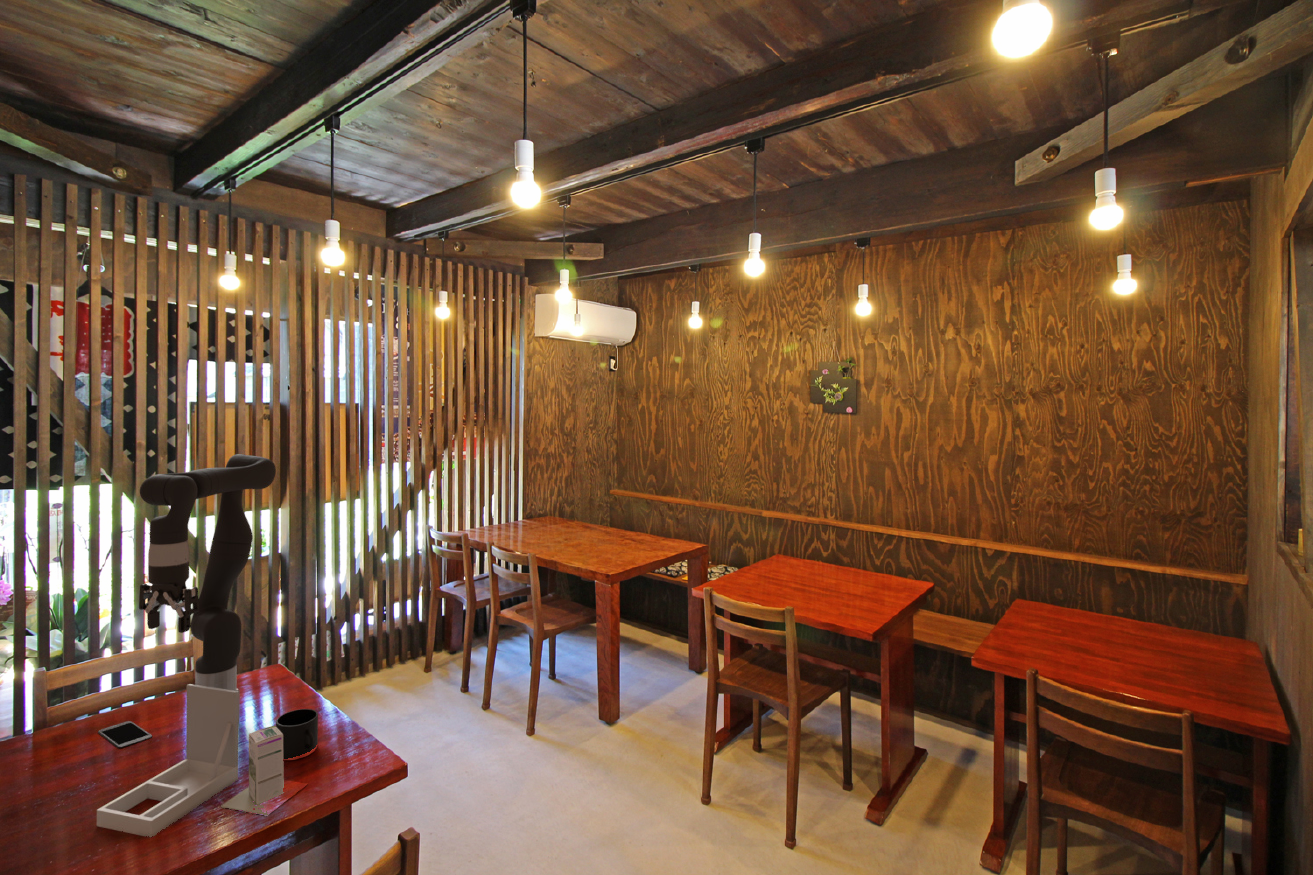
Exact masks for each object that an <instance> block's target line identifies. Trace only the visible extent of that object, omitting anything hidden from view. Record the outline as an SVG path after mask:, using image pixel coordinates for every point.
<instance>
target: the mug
mask: <svg viewBox="0 0 1313 875" xmlns="http://www.w3.org/2000/svg"><path fill="white" fill-rule="evenodd" d="M275 726H276V727H277V728H278V729H279V730H280V732H281V733H282V734H283V759H288V758H293V757H296V756H300V755H302V754H305V753H307V752H310V751H311V750H312V749H314V748H315V747H316V745H317V744H318V742H319V741H318V740H319V739H318V738H319V713H318V711H317V710H315V709H312V708H300V709H293V710H291V711H287V712H284V713H282V714H281V715H280V716H279V717H278V718H276V720H275Z"/></svg>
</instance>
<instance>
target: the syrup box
mask: <svg viewBox="0 0 1313 875" xmlns="http://www.w3.org/2000/svg"><path fill="white" fill-rule="evenodd" d="M284 768H285V766H284V761H283V734H282V733H281V732H280V730H279V729H278V728H277V727H276V725H272V726H268V727H263V728H261V729H260V728H259V729H258V730H255V731H252V732H249V733H248V787H249V795H250V797H251V798H252V799H253V801H254V802H255V804H256V805H258V804H261V803H263V802H265V801H268V800H270V799H272V798H274V797H277V796H279V795H281V794H283V793H284V792H283V788H284V779H285V778H284V774H285V773H284V772H285V771H284Z"/></svg>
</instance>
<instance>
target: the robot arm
mask: <svg viewBox="0 0 1313 875" xmlns="http://www.w3.org/2000/svg"><path fill="white" fill-rule="evenodd" d="M276 468H277V467H276V465H275V463H274V461H272V460H271V459H269V458H267V457H263V456H255V455H249V454H248V455H247V454H241V453H237V454H236V453H235V454H234V455H232V456H231V457H230V458H229V459H228V461H227V462H226V464H225V467H208V468H207V467H206V468H200V469H194V470H190V471H186V472H185V471H184V472H173V473H172V472H171V473H158V474H154V475H151V476H148V477H147V478H145V480H144V481H143V482H142V483H141V485H140V488H139V495H140V497H141V499H142V501H144V502H145V503H146V504H149V505H152V506H158V507H159V506H162V507H163V506H167V507H170V508H169V511H168V513H167V514H165V515H160V516H159V515H158V516H155V517H154V518H152V519H151V520H150V523H149V548H148V554H147V555H148V556H147V557H148V561H147V567H148V568H147V572H148V573H147V574H148V575H147V576H148V578H147V581H148V582H147V583H143V584H140V585H139V598H138V608H139V609H138V610H141V611H142V610H143V611H145V613H146V614H147V618H146V620H147V628H148V629H150V630H153V629H158V628H159V627H160V626H161V624H160V623H161V618H160V617H161V616H160V615H161V614H160V613H161V611H160V609H161V607H162V606H163V605H165V606H168V607H170V608H171V609H172V610H174V611H175V612H176V613H177V615H178V620H177V621H178V624H177V625H178V627H177V629H178V633H179V634H180V633H181V634H182V633H183V634H184V633H185V632H188V631H190V632H191V635H193V637H194V638H195V639H197V640H199V641H201V642H203V645H202V646H203V648H202V655H201V656H200V657H198V658H197V659H196V660H195V666H194V667H195V669H194V670H195V672H194V673H195V675H194V678H195V679H194V680H195V681H194V682H195V684H194V685H200V686H207V687H214V688H220V689H227V690H234V691H239V706H240V704H241V703H240V701H241V700H240V696H241V695H240V693H241V692H240V688H238V687H237V685H238V684H237V680H238V679H237V677H238V676H237V673H238V671H237V668H238V667H237V664H238V658H239V655H240V652H241V647H242V646H241V644H242V620H241V618H240V616H239V615H238V614H237V612H235V611H233V610H230V609H228V605H229V600H230V594H231V591H232V588H233V585H234V583H235V582H236V580H237V579H238V577H239V575H240V574H241V573H242V572H243V570H244V568H245V566H246V565H247V563H248V560H249V559H250V554H251V549H252V545H253V536H254V535H253V531H252V528H251V525H250V523H249V521H248V518H247V516H246V514H245V511H244V507H243V491H244V490H264V489H267V488H268V487H270V486H271V485H272V483H273V482H274V480H275V478H276V472H277V469H276ZM219 494H221V495H220V501H219V502H220V504H219V510H218V515H217V519H216V525H215V529H214V531H213V532H214V533H213V537H212V540H211V545H210V550H209V556H208V561H207V564H206V565H207V566H206V570H205V573H204V578H203V583H202V587H201V590H200V594H199V588H198V587H197V586H194V587H187V586H186V583H187V580H188V579H189V578H190V545H189V522H190V520H191V519H190V518H191V515H192V511H193V509H194V505H195V503H196V500H198V499H199V500H200V499H204V498H207V497H210V496H215V495H219ZM146 600H147V602H146ZM183 609H184V610H183Z"/></svg>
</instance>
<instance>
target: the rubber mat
mask: <svg viewBox="0 0 1313 875" xmlns="http://www.w3.org/2000/svg"><path fill="white" fill-rule="evenodd" d="M254 805H256V804H255V802H253V799H252V798H251V797H250V795H249V786H248V787H246V788H245V789H243V790H242V791H240V792H239V793H237V794H235V795H234V796H233V797H231V798H230V799H229V800H227V801H225V802H224V803H222V804H221V805H220V808H221V807H222V808H221V809H225V808H229V809H228V810H230V809H235V810H243V811H245V812H244V813H246V811H247V812H252V813H257V814H263V815H268V814H267V811H266V813H264V812H262V810H261V809H258V808H264V806H263V805H260V804H258V805H257V806H254ZM253 808H255V810H253ZM235 810H234V811H235Z"/></svg>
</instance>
